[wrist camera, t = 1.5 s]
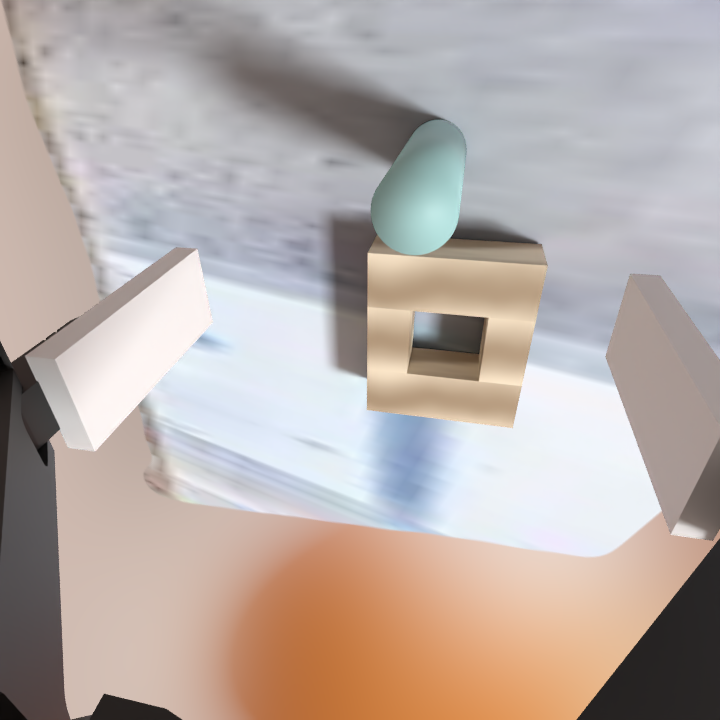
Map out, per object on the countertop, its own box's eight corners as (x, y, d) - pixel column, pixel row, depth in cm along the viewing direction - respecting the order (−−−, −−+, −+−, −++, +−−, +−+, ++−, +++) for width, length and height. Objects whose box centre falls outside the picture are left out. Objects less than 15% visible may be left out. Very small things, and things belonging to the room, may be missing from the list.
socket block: (377, 233, 38) (367, 253, 35) (541, 244, 36) (547, 265, 33) (375, 382, 46) (367, 409, 42) (510, 398, 44) (512, 428, 40)
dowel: (408, 118, 33) (370, 164, 22) (469, 120, 33) (463, 168, 21) (405, 180, 35) (370, 252, 24) (463, 183, 35) (454, 258, 23)
